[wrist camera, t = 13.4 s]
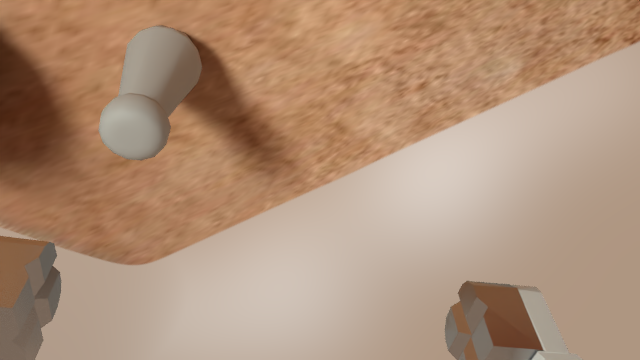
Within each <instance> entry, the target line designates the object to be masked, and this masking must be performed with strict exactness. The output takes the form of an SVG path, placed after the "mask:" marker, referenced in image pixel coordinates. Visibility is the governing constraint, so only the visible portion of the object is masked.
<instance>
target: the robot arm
mask: <svg viewBox="0 0 640 360" xmlns="http://www.w3.org/2000/svg"><path fill="white" fill-rule="evenodd" d="M56 257H57V254H56V250H55V245H54V243H51V242H46V241H38V240H29V239H20V238H12V237H4V236H0V360H35V358H36V355H37V353H38V351H39V349H40V346H41V344H42V342H43V336H42V332H41V328H42V327H43V326H45V325H46V324H47V323H49V322H50V321H51V320H52V319H53V316H54V314H55V312H56V309H57V307H58V302H59V298H60V293H61V278H60V272H59V271H58V270H57V269H56V268H54V267H53V266H52V265H53V263H54V261H55V259H56ZM458 294H459V297H460V301H459V302H458V303H456V304H454V305H453V306H452V307H451V308H450V310H449V313H448V315H447V317H446V325H445V337H446V343H447V347H448V351H449V352H450V353H451V354H452V355H453V356H454V357H455V358H456V359H457V360H583V359H581V358H580V357H579V356H578V355H577V354H571V353H569V351H568V349H567V347H566V345H565V343H564V341H563V338H562V336H561V334H560V332H559V330H558V328H557V325H556V323H555V321H554V319H553V317H552V315H551V313H550V310H549V309H548V306H547V304H546V302H545V300H544V298H543V295H542V293H541V291H540V290H539V289H538V288H536V287H530V286H518V285H509V284H497V283H484V282H472V281H466V282H465V283H464V284H462V286H461V288H460V290H459V292H458Z"/></svg>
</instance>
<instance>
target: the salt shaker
mask: <svg viewBox="0 0 640 360" xmlns="http://www.w3.org/2000/svg"><path fill="white" fill-rule="evenodd" d="M201 70H202V64H201V60H200V56H199V52H198V49H197V48H196V47H195V45H194V44H193V43H192V41H191V40H190V39H189V37H188V36H187V35H186V33H184V32H181V31H178V30H175V29H173V28H169V27H166V26H163V25H161V26H153V27H150V28H147V29H144V30H141V31H139V32H138V33H137V34H136V36H135V37H134V38H133V39H132V40H131V41H130V42H129V43H128V44H127V50H126V55H125V61H124V67H123V73H122V78H121V84H120V90H119V95H118V97H115V98H114V99H113V100H112V101H111V102H110V103H109V104H108V105H107V106H106V107H105V108H104V110H103V111H102V113H101V118H100V125H99V133H100V136H101V138H102V141H103V143H104V144H105V145H106V146H107V147H108V148H109V149H110V150H111V151H112V152H113V153H115V154H117V155H119V156H122V157H124V158H126V159H132V160H145V159H148V158H152V157H155V156H156V155H157V154H158V153H159V152H160V151H161V150H162V149H163V148H164V146H165V145H166V143H167V140H168V136H169V133H170V128H171V126H170V123H169V119H168V117H169V116H170V115H171V113H172V112H173V111H174V110H175V108H176V107H177V106H178V105H179V104H180V103H181V101H182V100H183V99H184V98H185V97H186V96H187V94H188V93H189V92H190V91H191V90H192V89H193V87H194V86H195V85H196V84H197V83H198V80H199V77H200V74H201Z"/></svg>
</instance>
